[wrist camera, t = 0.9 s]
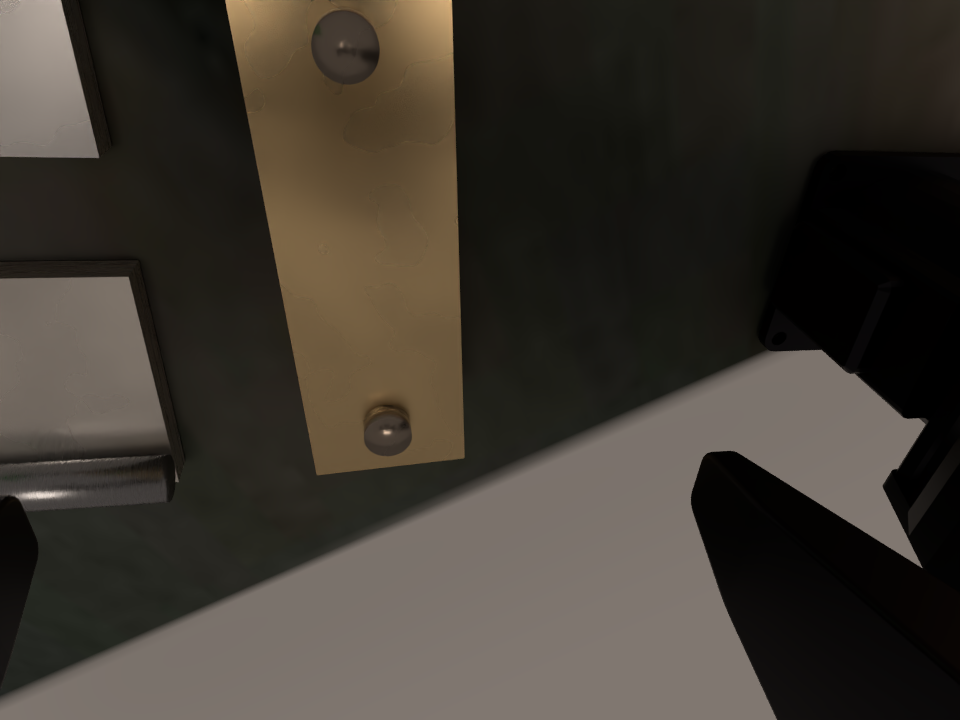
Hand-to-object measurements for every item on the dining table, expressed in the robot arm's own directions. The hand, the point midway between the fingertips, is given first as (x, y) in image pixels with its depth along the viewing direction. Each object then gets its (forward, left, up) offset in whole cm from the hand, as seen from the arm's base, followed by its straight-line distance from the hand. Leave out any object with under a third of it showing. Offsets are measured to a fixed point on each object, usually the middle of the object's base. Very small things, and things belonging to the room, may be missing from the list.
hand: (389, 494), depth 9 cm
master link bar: (0, 0, -11) cm, 11 cm away
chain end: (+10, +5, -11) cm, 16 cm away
